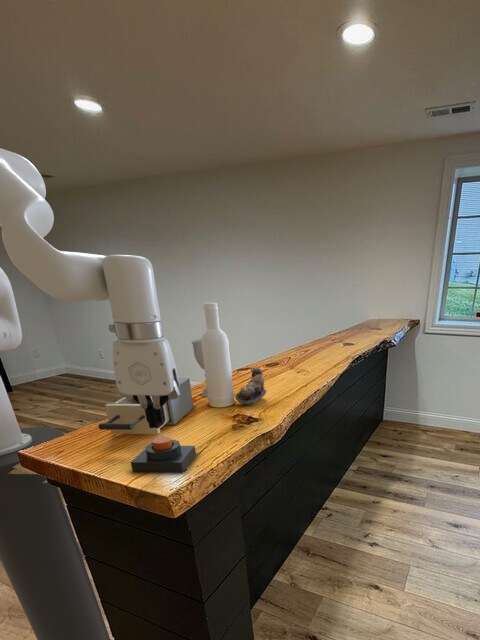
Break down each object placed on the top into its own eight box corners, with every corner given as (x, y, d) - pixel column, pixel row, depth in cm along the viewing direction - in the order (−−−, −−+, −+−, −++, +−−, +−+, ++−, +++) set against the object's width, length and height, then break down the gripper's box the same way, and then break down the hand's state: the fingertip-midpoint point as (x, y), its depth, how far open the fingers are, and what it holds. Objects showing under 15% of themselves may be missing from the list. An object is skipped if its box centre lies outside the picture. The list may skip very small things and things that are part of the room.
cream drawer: (144, 446, 78) (137, 416, 76) (93, 446, 78) (85, 415, 75) (179, 415, 97) (175, 389, 95) (138, 414, 97) (133, 389, 94)
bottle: (230, 398, 115) (220, 302, 103) (238, 405, 109) (228, 303, 97) (206, 402, 111) (192, 302, 99) (212, 409, 105) (199, 303, 93)
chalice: (220, 391, 123) (214, 339, 116) (220, 396, 117) (213, 342, 110) (199, 392, 121) (191, 339, 114) (197, 397, 115) (189, 342, 108)
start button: (150, 451, 70) (148, 443, 69) (158, 443, 73) (156, 436, 73) (168, 451, 70) (166, 443, 69) (175, 443, 73) (173, 436, 73)
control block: (132, 472, 69) (128, 454, 68) (150, 454, 77) (147, 437, 75) (182, 472, 69) (179, 454, 68) (196, 454, 77) (193, 438, 75)
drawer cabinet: (174, 424, 93) (169, 392, 89) (127, 424, 93) (120, 391, 89) (193, 407, 106) (189, 378, 103) (152, 406, 106) (146, 377, 103)
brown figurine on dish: (251, 408, 106) (248, 376, 102) (231, 406, 108) (228, 374, 104) (270, 397, 116) (268, 368, 112) (251, 395, 118) (249, 366, 114)
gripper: (85, 333, 59) (109, 432, 66) (173, 335, 59) (187, 433, 67) (110, 328, 66) (129, 418, 73) (189, 330, 66) (200, 419, 73)
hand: (157, 425), depth 70 cm, fingers closed
